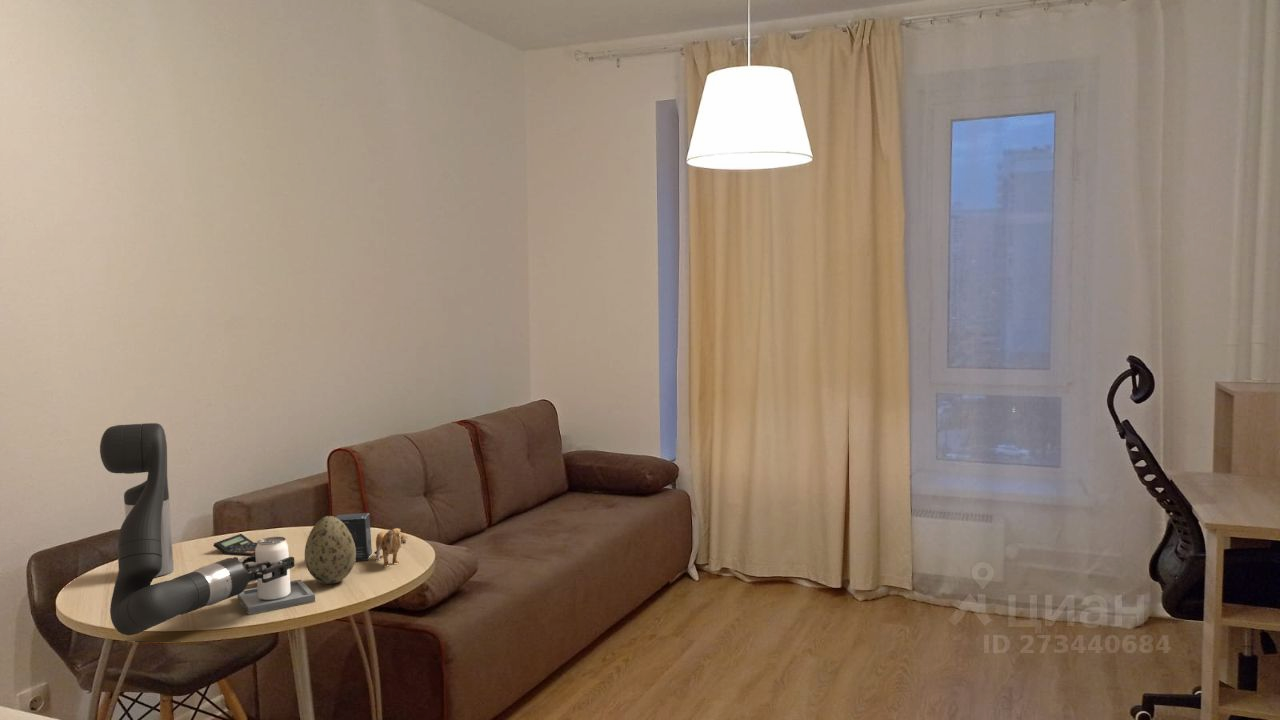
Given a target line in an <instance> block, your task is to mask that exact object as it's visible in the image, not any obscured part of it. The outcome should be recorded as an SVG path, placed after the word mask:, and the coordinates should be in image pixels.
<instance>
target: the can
mask: <svg viewBox="0 0 1280 720" xmlns="http://www.w3.org/2000/svg"><path fill="white" fill-rule="evenodd" d="M256 543H257V546H256V549H255V555H256V562H261V561H269V562H276V561H280V560H283V559H285V558H288V557H290V555H289V554H290V553H289V544H288V542H287V541H286V537H284V536H270V537H269V536H268V537H264V538H261V539H258V540H257V541H256ZM261 566H262V570H263V569H265V568H266V566H265V565H261ZM271 567H272V566H271ZM290 569H291V568H290ZM290 569H288V570H287V575H286V576H283V577H280V578H278V579H275V580H272V581H269V582H267V583H262V580H257V581H256V582H257V590H258V597H259V598H260V599H261V600H266V601H270V600H278V599H282V598H285V597H287V596H288V595H289V594H290V592H291V587H290V581H291V572H290V571H291V570H290Z"/></svg>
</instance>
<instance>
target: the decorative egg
mask: <svg viewBox="0 0 1280 720" xmlns="http://www.w3.org/2000/svg"><path fill="white" fill-rule="evenodd" d="M355 559H356V548H355V543H354V540H353V537H352V535H351V533H350V531H349V530H348V528H347V527H346V526H345V524H344V523H343V522H342V521H340V520H339V519H338V518H336V516H333V515H326V516H323V517H321V518H320V519H319V520H318V521H317V522H316V523H315V524H314V526H313V527H312V529H311V530H310V533H309V534H308V536H307V539H306V543H305V548H304V563H305V565H306V569H307V571H308V572H309V574H310V575H311V577H313V578H314V579H315V580H316V581H318V582H320V583H323V584H327V585H331V584H337V583H340V582H342V581H343V580H344V579H346V578H347V577H348V575H349V574H350V573H351V572H352V570H353V568H354V566H355V563H356V561H355Z"/></svg>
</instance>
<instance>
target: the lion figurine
mask: <svg viewBox="0 0 1280 720" xmlns="http://www.w3.org/2000/svg"><path fill="white" fill-rule="evenodd" d="M408 539H409V536H406V535H405V534H404V533H403V532H402V531H401V528H393V529H391V530H388V532H387V531H380V532H378V533H377V535H376V538H375V547H376V548H375V549H376V550H375V551H374V552H373V554H374V555H375V559H374V561H375V560H379V559H380V560H381V557H380V554H381V552H380V551H382V556H383V567H384V566H387V565H389V564H390V562H389V560H388V559H389V558H388V557H389V555H392V561H391V562H392V564H393V563H398V564H400V562H399V561H398V560H397V559H398V558H397V556H398V552H399V550H400V549H401V548H402V545H407V541H408ZM380 560H379V561H380Z"/></svg>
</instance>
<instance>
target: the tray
mask: <svg viewBox="0 0 1280 720" xmlns="http://www.w3.org/2000/svg"><path fill="white" fill-rule="evenodd" d="M290 587H291V592H290V594H289V595H288V596H287V597H285V598H282V599H278V600H270V601H266V600H261V599H260V598H259V597H258V590H257V587H256V588H251V589H246V590H244V591H243V592H242V593H240V594H238V595H236V597H237V600H238V601H239V602H240V603H241V606H242V607H243V609H244V610H245V611H246V613H247V615H248V616H250V615H255V614H259V613H265V612H270V611H275V610H279V609H280V610H281V609H286V608H290V607H296V606H299V605H300V606H301V605H305V604H310V603H311V604H312V603H315V602H316V594H315V593H314V592H313V591H312V590H311V589H310V588H309V587H308V585H306V584H305V583H304V581H302V579H296V580H290Z"/></svg>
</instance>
